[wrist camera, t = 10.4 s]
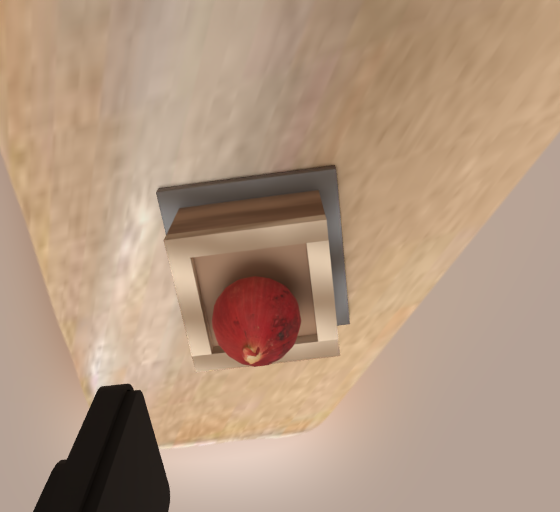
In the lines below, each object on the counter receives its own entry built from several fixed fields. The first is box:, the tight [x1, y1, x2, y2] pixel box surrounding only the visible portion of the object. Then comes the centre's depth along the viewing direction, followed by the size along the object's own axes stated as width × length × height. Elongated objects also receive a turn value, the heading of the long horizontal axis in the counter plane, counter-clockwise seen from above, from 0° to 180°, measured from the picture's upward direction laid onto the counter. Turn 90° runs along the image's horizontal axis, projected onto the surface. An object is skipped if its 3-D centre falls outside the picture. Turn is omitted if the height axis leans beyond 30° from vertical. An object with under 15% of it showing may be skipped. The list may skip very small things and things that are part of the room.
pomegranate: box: [212, 276, 301, 367], centre depth 34 cm, size 6×6×8 cm
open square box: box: [156, 165, 350, 373], centre depth 41 cm, size 14×14×8 cm
